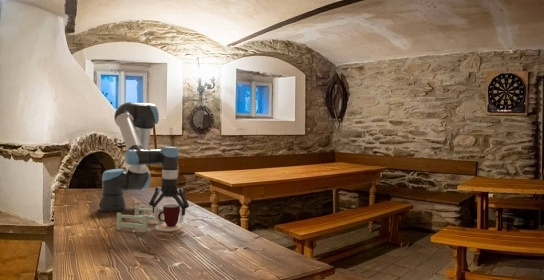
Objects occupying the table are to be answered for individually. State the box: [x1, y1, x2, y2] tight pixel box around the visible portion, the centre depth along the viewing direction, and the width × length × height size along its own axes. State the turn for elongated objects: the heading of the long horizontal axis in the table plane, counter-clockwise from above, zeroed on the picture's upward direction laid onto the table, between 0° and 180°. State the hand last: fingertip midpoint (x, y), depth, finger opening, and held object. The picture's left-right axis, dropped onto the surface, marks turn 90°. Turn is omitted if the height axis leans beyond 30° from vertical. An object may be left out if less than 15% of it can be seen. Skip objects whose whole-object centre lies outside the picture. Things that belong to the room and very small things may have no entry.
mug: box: [158, 203, 181, 227], centre depth 202 cm, size 11×8×10 cm
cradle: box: [116, 205, 164, 233], centre depth 203 cm, size 15×18×8 cm
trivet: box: [154, 222, 183, 232], centre depth 202 cm, size 13×13×1 cm
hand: (168, 220), depth 202 cm, fingers open, 13 cm apart
